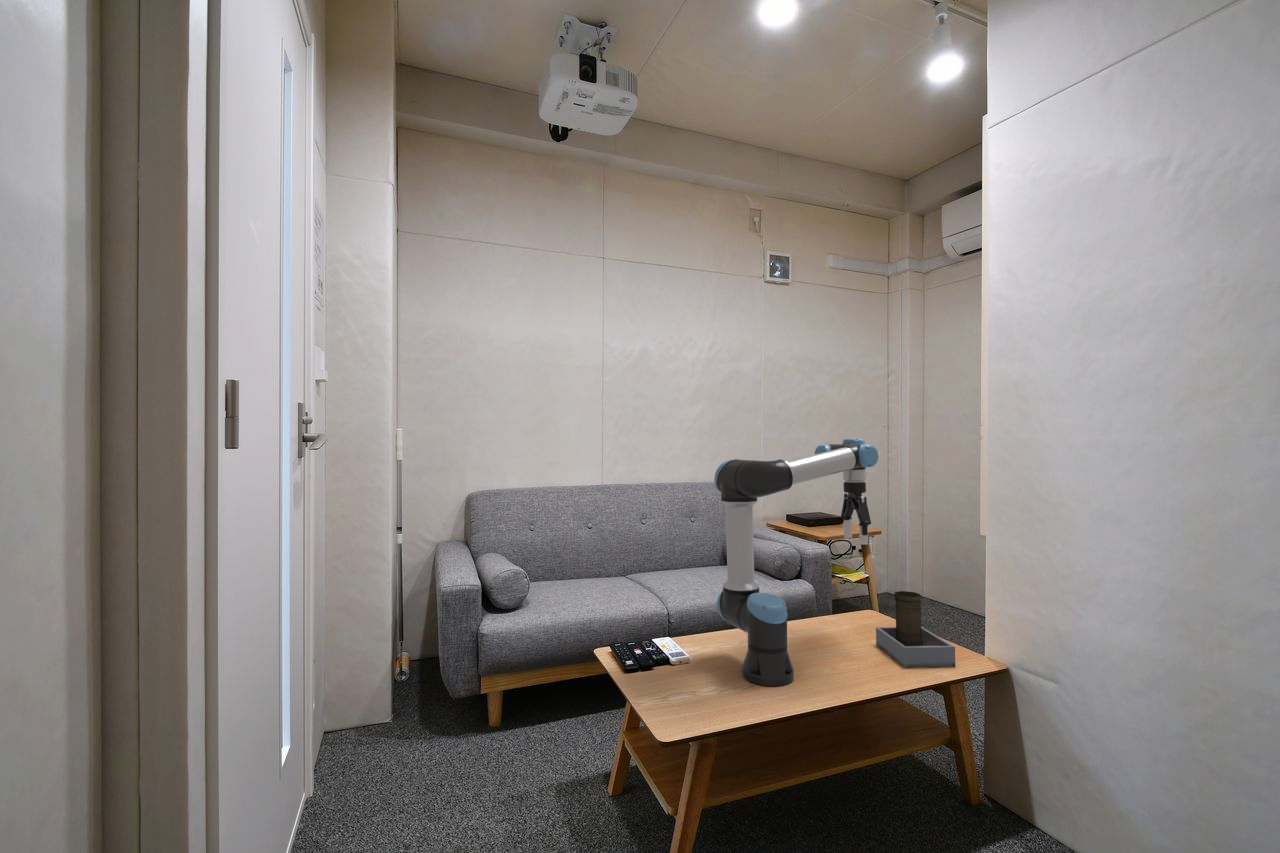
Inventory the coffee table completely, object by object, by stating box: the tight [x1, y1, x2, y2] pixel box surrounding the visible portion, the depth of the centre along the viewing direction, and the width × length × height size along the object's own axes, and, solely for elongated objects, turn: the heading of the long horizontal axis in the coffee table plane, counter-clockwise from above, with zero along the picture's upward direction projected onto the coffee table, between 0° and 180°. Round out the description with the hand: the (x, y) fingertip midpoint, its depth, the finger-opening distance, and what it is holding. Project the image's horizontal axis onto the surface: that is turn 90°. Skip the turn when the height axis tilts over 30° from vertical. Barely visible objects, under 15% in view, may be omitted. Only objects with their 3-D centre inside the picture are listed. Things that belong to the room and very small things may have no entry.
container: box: [893, 590, 923, 646], centre depth 192 cm, size 9×9×18 cm
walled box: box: [875, 626, 956, 668], centre depth 189 cm, size 16×20×6 cm
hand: (855, 541), depth 205 cm, fingers open, 13 cm apart
